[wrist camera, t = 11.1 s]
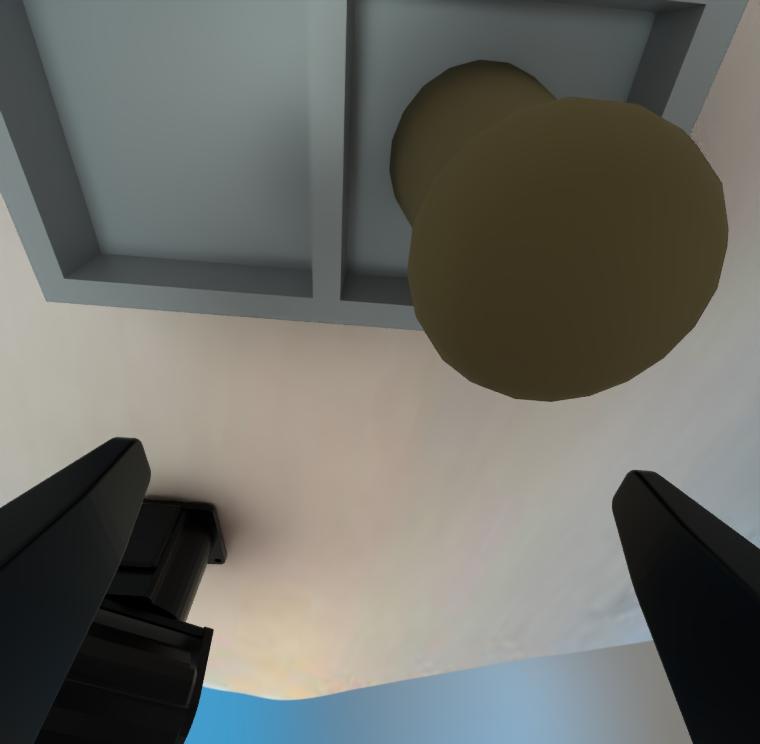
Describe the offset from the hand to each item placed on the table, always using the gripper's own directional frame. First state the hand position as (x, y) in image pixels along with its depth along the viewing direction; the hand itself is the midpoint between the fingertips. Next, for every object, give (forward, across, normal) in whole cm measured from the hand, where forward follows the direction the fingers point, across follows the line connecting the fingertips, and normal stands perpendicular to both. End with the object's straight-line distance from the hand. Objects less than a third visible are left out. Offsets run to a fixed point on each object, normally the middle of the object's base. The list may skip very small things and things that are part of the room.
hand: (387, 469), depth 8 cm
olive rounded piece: (+12, -3, -4) cm, 12 cm away
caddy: (+12, +2, -4) cm, 13 cm away
